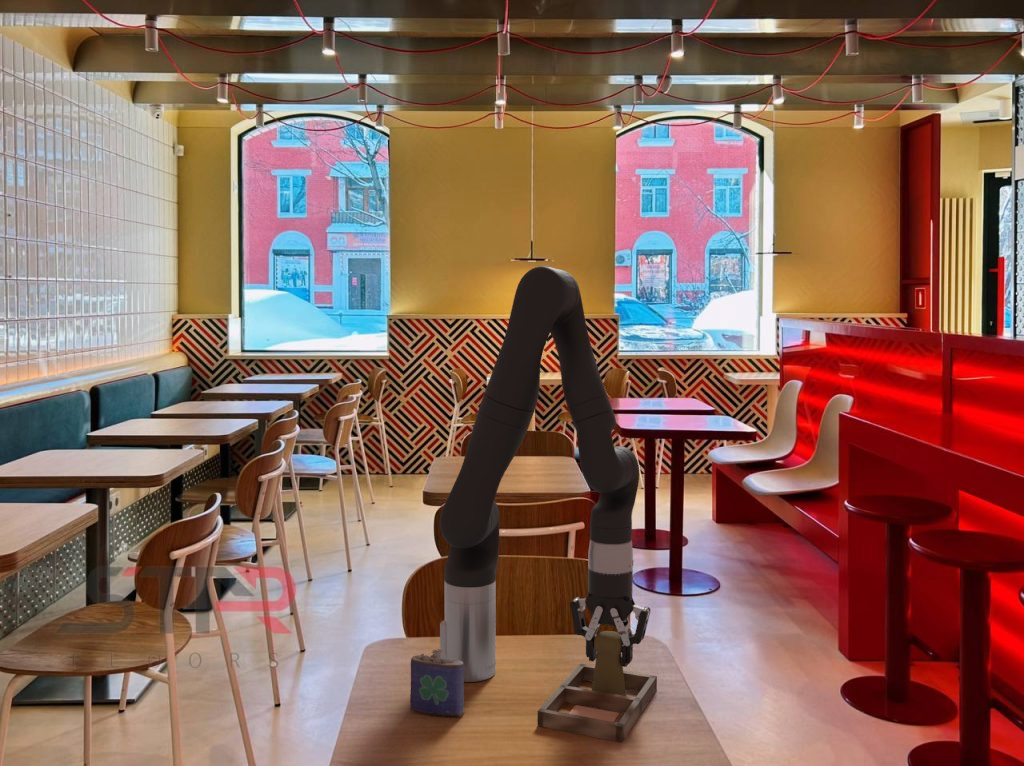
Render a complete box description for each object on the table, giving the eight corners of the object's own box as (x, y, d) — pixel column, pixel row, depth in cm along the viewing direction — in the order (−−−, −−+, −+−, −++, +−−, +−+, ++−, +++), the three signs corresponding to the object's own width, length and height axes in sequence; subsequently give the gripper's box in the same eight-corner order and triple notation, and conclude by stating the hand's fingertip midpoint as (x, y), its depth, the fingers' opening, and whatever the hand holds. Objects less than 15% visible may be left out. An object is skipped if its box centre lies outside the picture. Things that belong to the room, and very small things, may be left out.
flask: (466, 712, 158) (465, 649, 157) (460, 720, 155) (459, 656, 154) (413, 705, 160) (412, 643, 159) (407, 713, 158) (406, 650, 157)
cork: (624, 704, 161) (625, 640, 160) (588, 701, 162) (589, 638, 161) (627, 689, 167) (628, 628, 166) (593, 686, 168) (593, 625, 167)
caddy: (537, 725, 153) (537, 710, 153) (580, 677, 172) (580, 663, 172) (622, 742, 148) (622, 726, 147) (656, 690, 167) (656, 676, 167)
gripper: (562, 566, 162) (562, 663, 163) (646, 576, 156) (644, 677, 158) (577, 555, 169) (576, 648, 170) (657, 564, 163) (655, 661, 165)
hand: (609, 662), depth 164 cm, fingers closed on cork, 5 cm apart
